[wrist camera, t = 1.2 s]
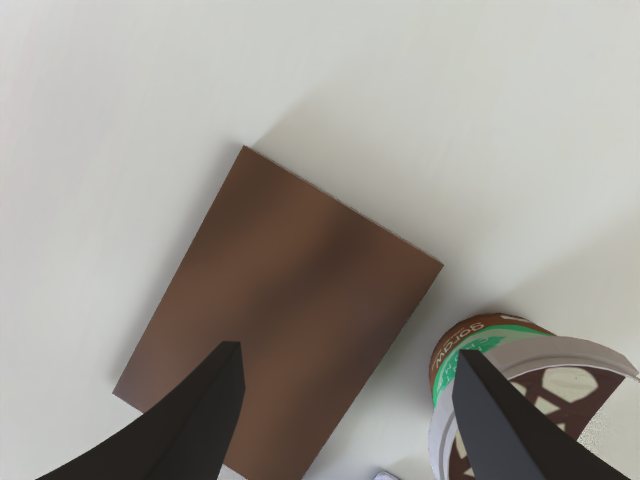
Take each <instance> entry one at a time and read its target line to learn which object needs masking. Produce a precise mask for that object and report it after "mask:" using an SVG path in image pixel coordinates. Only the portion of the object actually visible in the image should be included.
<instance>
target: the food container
mask: <svg viewBox="0 0 640 480" xmlns="http://www.w3.org/2000/svg"><path fill="white" fill-rule="evenodd" d="M459 349H473V350H479V351H480V352H481V353H482V354H483V355H484V356H485V357H486V358H487V359H488V360H489V361H490V362H491V363H492V364H493V365H494V366H495V367H496V368H497V369H498V370H499V371H500V372H501V373H502V374H503V376H504V377H505V378H506V379H507V380H508V381H509V382H510V383H511V384H512V385H513V386H514V387H515V388H516V389H517V390H518V391H519V392H521V393H522V394H523V395H524V396H525V397H526V398H527V399H528V400H529V401H530V402H531V403H532V404H533V405H534V406H535V407H536V408H538V409H539V410H540V411H541V412H542V413H543V414H544V415H545V416H547V417H548V418H549V419H550V420H551V421H552V422H553V423H555V424H556V425H557V426H558V427H559V428H561V429H562V430H563V431H564V432H565V433H567V434H568V435H569V436H571V437H572V438H573V439H575V440H576V441H577V439H578V437H579V436H580V434H581V433H582V431H583V430H584V428H585V427H586V425H587V424H588V422H589V421H590V420H591V418H592V417H593V416H594V415H595V414H596V412H597V411H598V410H599V409H600V407H601V406H602V405H603V404H604V403H605V401H606V400H607V399H608V398H609V397H610V395H611V394H612V393H613V392H614V391H615V389H616V388H617V387H618V386H619V385H620V384H621V382H622V381H623V380H624V379H625V378H626V377H625V376H627V377H629V378H631V379H633V380H635V381H637V382H639V383H640V379H639V378H637V377H636V375H637V374H638V373H639V372H638V371H637V370H636V369H635V367H634V366H633V365H632V364H631V363H630V362H629V361H628V360H627V359H626V357H625V356H624V355H622V354H620V353H618V352H616V351H614V350H612V349H610V348H608V347H606V346H603V345H600V344H597V343H594V342H591V341H588V340H582V339H577V338H571V337H562V336H557V335H555V334H553V333H551V332H549V331H547V330H545V329H543V328H542V327H540V326H538V325H536V324H534V323H532V322H530V321H528V320H526V319H524V318H521V317H517V316H512V315H507V314H502V313H495V314H483V315H477V316H474V317H472V318H469V319H467V320H464V321H462V322H459V323H457V324H456V325H455V326H454V327H452V328H451V329H450V330H449V331H447V332H446V333H445V334H444V335H443V337H442V338H441V339H440V340H439V342H438V343H437V345H436V347H435V348H434V351H433V354H432V356H431V361H430V366H429V378H430V384H431V391H432V397H433V404H434V413H433V415H432V420H431V425H430V430H429V455H430V462H431V466H432V470H433V473H434V476H435V479H436V480H476V479H475V476H474V473H473V470H472V468H471V465H470V462H469V459H468V456H467V453H466V450H465V447H464V444H463V441H462V438H461V435H460V432H459V429H458V425H457V421H456V417H455V412H454V407H453V402H452V391H453V385H454V379H455V372H456V366H457V360H458V353H459Z"/></svg>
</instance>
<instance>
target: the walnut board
mask: <svg viewBox="0 0 640 480" xmlns="http://www.w3.org/2000/svg"><path fill="white" fill-rule="evenodd" d="M443 266H444V265H443V264H442V263H441V262H440V261H439V260H437V259H436V258H434V257H432V256H431V255H429V254H427V253H426V252H424V251H422V250H421V249H419V248H417V247H416V246H414V245H412V244H411V243H409V242H407V241H406V240H404V239H402V238H401V237H399V236H397V235H396V234H394V233H392V232H391V231H389V230H387V229H386V228H384V227H382V226H381V225H379V224H377V223H376V222H374V221H372V220H371V219H369V218H367V217H366V216H364V215H362V214H361V213H359V212H357V211H356V210H354V209H352V208H351V207H349V206H347V205H346V204H344V203H342V202H341V201H339V200H337V199H336V198H334V197H332V196H331V195H329V194H327V193H326V192H324V191H322V190H321V189H319V188H317V187H316V186H314V185H312V184H311V183H309V182H307V181H306V180H304V179H302V178H300V177H299V176H297V175H295V174H294V173H292V172H290V171H289V170H287V169H285V168H284V167H282V166H280V165H279V164H277V163H275V162H274V161H272V160H270V159H269V158H267V157H265V156H264V155H262V154H260V153H259V152H257V151H255V150H254V149H252V148H250V147H248V146H245V145H244V146H243V147H242V149H241V151H240V153H239V155H238V157H237V159H236V161H235V162H234V164H233V166H232V168H231V170H230V172H229V174H228V176H227V178H226V179H225V181H224V183H223V185H222V187H221V189H220V191H219V193H218V194H217V196H216V198H215V200H214V202H213V204H212V206H211V208H210V210H209V211H208V213H207V215H206V217H205V219H204V221H203V223H202V225H201V227H200V228H199V230H198V232H197V234H196V236H195V238H194V240H193V242H192V243H191V245H190V247H189V249H188V251H187V253H186V255H185V257H184V259H183V260H182V262H181V264H180V266H179V268H178V270H177V272H176V274H175V275H174V277H173V279H172V281H171V283H170V285H169V287H168V289H167V291H166V292H165V294H164V296H163V298H162V300H161V302H160V304H159V306H158V308H157V309H156V311H155V313H154V315H153V317H152V319H151V321H150V323H149V324H148V326H147V328H146V330H145V332H144V334H143V336H142V338H141V340H140V341H139V343H138V345H137V347H136V349H135V351H134V353H133V355H132V357H131V358H130V360H129V362H128V364H127V366H126V368H125V370H124V372H123V373H122V375H121V377H120V379H119V381H118V383H117V385H116V387H115V389H114V390H113V392H112V394H114V395H115V396H117V397H119V398H120V399H122V400H123V401H125V402H126V403H128V404H130V405H131V406H133V407H134V408H136V409H137V410H139V411H141V412H142V413H145V412H147V411H148V410H149V409H150V408H152V407H153V406H154V405H155V404H157V403H158V402H159V401H160V400H161V399H162V398H163V397H165V396H166V395H167V394H168V393H169V392H170V391H171V390H173V389H174V388H175V387H176V386H177V385H178V384H179V383H180V382H181V381H182V380H184V379H185V378H186V377H187V376H188V375H189V374H190V373H191V372H192V371H193V370H194V369H195V368H196V367H197V366H198V365H199V364H200V363H201V362H202V361H203V360H204V359H205V358H206V357H207V356H208V355H209V354H210V353H211V352H212V351H213V350H214V349H215V348H216V347H217V346H218V345H219V344H220V343H221V342H222V341H240V342H241V351H242V360H243V368H244V377H245V386H246V390H245V394H244V399H243V403H242V408H241V412H240V416H239V419H238V422H237V425H236V428H235V431H234V434H233V436H232V439H231V442H230V445H229V447H228V450H227V453H226V456H225V458H224V461H223V464H224V465H226V466H227V467H229V468H230V469H232V470H234V471H235V472H237V473H238V474H240V475H241V476H243V477H245V478H246V479H248V480H301V479H302V477H303V476H304V474H305V473H306V471H307V470H308V468H309V467H310V465H311V464H312V462H313V461H314V459H315V458H316V456H317V455H318V453H319V452H320V450H321V449H322V447H323V446H324V444H325V443H326V441H327V440H328V438H329V437H330V435H331V434H332V432H333V431H334V429H335V428H336V426H337V425H338V423H339V422H340V420H341V419H342V417H343V416H344V414H345V413H346V411H347V410H348V408H349V407H350V405H351V404H352V402H353V401H354V400H355V398H356V397H357V395H358V394H359V392H360V391H361V389H362V388H363V386H364V385H365V383H366V382H367V380H368V379H369V377H370V376H371V374H372V373H373V371H374V370H375V368H376V367H377V365H378V364H379V362H380V361H381V359H382V358H383V356H384V355H385V353H386V352H387V350H388V349H389V347H390V346H391V344H392V343H393V341H394V340H395V338H396V337H397V335H398V334H399V332H400V331H401V329H402V328H403V326H404V325H405V323H406V322H407V320H408V319H409V317H410V316H411V314H412V313H413V311H414V310H415V308H416V307H417V305H418V304H419V302H420V301H421V299H422V298H423V296H424V295H425V293H426V292H427V290H428V289H429V287H430V286H431V284H432V283H433V281H434V280H435V278H436V277H437V275H438V274H439V272H440V271H441V269H442V268H443Z"/></svg>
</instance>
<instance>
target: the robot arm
mask: <svg viewBox="0 0 640 480" xmlns="http://www.w3.org/2000/svg"><path fill="white" fill-rule="evenodd" d="M245 390H246V386H245V377H244V368H243V360H242V351H241V342H240V341H222V342H221V343H220V344H219V345H218V346H217V347H216V348H215V349H214V350H213V351H212V352H211V353H210V354H209V355H208V356H207V357H206V358H205V359H204V360H203V361H202V362H201V363H200V364H199V365H198V366H197V367H196V368H195V369H194V370H193V371H192V372H191V373H190V374H189V375H188V376H187V377H186V378H185V379H184V380H182V381H181V382H180V383H179V384H178V385H177V386H176V387H175V388H174V389H173V390H171V391H170V392H169V393H168V394H167V395H166V396H165V397H163V398H162V399H161V400H160V401H159V402H158V403H157V404H155V405H154V406H153V407H152V408H150V409H149V410H148V411H147V412H145V413H144V414H143V415H141V416H140V417H139V418H137V419H136V420H135V421H133V422H132V423H131V424H129V425H128V426H126V427H125V428H123V429H122V430H120V431H119V432H117V433H116V434H114V435H113V436H111V437H110V438H108V439H107V440H105V441H103V442H102V443H100V444H99V445H97V446H96V447H94V448H92V449H91V450H89V451H87V452H86V453H84V454H82V455H81V456H79V457H77V458H75V459H74V460H72V461H70V462H68V463H66V464H65V465H63V466H61V467H59V468H57V469H55V470H53V471H52V472H50V473H48V474H46V475H44V476H42V477H40V478H37V479H35V480H217V478H218V475H219V472H220V469H221V467H222V464H223V461H224V458H225V456H226V453H227V450H228V447H229V445H230V442H231V439H232V436H233V434H234V431H235V428H236V425H237V422H238V419H239V416H240V412H241V408H242V403H243V399H244V394H245ZM452 402H453V407H454V412H455V417H456V421H457V425H458V429H459V432H460V435H461V438H462V441H463V444H464V447H465V450H466V453H467V456H468V459H469V462H470V465H471V468H472V470H473V473H474V476H475V479H476V480H631V479H629V478H628V477H626V476H625V475H623V474H622V473H620V472H619V471H617V470H616V469H614V468H613V467H611V466H610V465H608V464H607V463H606V462H604V461H603V460H601V459H600V458H598V457H597V456H596V455H594V454H593V453H591V452H590V451H589V450H587V449H586V448H585V447H584V446H582V445H581V444H580V443H578V442H577V441H576V440H575V439H573V438H572V437H571V436H569V435H568V434H567V433H565V432H564V431H563V430H562V429H561V428H559V427H558V426H557V425H556V424H555V423H553V422H552V421H551V420H550V419H549V418H548V417H547V416H545V415H544V414H543V413H542V412H541V411H540V410H539V409H538V408H536V407H535V406H534V405H533V404H532V403H531V402H530V401H529V400H528V399H527V398H526V397H525V396H524V395H523V394H522V393H521V392H519V391H518V390H517V389H516V388H515V387H514V386H513V385H512V384H511V383H510V382H509V381H508V380H507V379H506V378H505V377H504V376H503V374H502V373H501V372H500V371H499V370H498V369H497V368H496V367H495V366H494V365H493V364H492V363H491V362H490V361H489V360H488V359H487V358H486V357H485V356H484V355H483V354H482V353H481V352H480V351H479V350H473V349H459V353H458V360H457V366H456V372H455V379H454V385H453V391H452ZM374 480H399V479H397V478H395V477H394V476H392V475H391V474H389V473H387V472H385V471H382V472H380V473H379V474H378V475H377V476H376V478H375V479H374Z"/></svg>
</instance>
